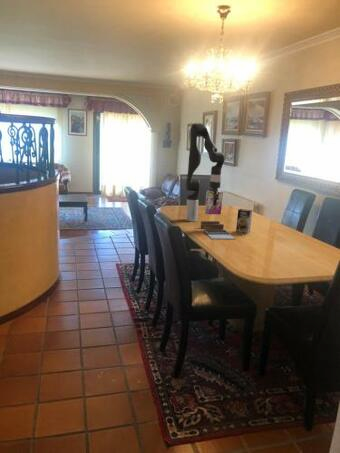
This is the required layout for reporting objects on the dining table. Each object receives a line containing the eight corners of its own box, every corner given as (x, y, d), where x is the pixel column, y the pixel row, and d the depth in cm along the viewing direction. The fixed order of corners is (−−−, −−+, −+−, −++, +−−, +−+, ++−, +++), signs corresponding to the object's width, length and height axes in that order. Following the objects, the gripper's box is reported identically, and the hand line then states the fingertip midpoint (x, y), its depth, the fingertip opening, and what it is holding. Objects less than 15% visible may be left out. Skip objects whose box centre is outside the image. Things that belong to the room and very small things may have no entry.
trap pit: (203, 231, 263) (203, 229, 262) (224, 231, 266) (225, 229, 265) (207, 235, 253) (207, 232, 253) (229, 235, 256) (229, 232, 256)
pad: (207, 235, 252) (207, 234, 252) (230, 235, 255) (230, 234, 255) (211, 239, 243) (211, 238, 242) (235, 239, 246) (235, 238, 245)
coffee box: (235, 231, 268) (237, 209, 264) (238, 229, 274) (240, 208, 270) (247, 233, 264) (250, 211, 260) (250, 231, 269) (252, 209, 266)
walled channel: (200, 227, 274) (200, 221, 273) (218, 227, 277) (219, 221, 276) (204, 231, 264) (204, 224, 263) (223, 231, 266) (223, 224, 265)
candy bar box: (206, 214, 265) (207, 191, 261) (204, 212, 269) (206, 190, 266) (221, 214, 267) (223, 192, 263) (219, 213, 271) (220, 191, 268)
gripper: (207, 179, 269) (205, 202, 273) (213, 182, 255) (211, 206, 259) (217, 179, 270) (215, 202, 274) (223, 182, 256) (221, 206, 260)
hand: (213, 204), depth 266 cm, fingers closed on candy bar box, 5 cm apart
